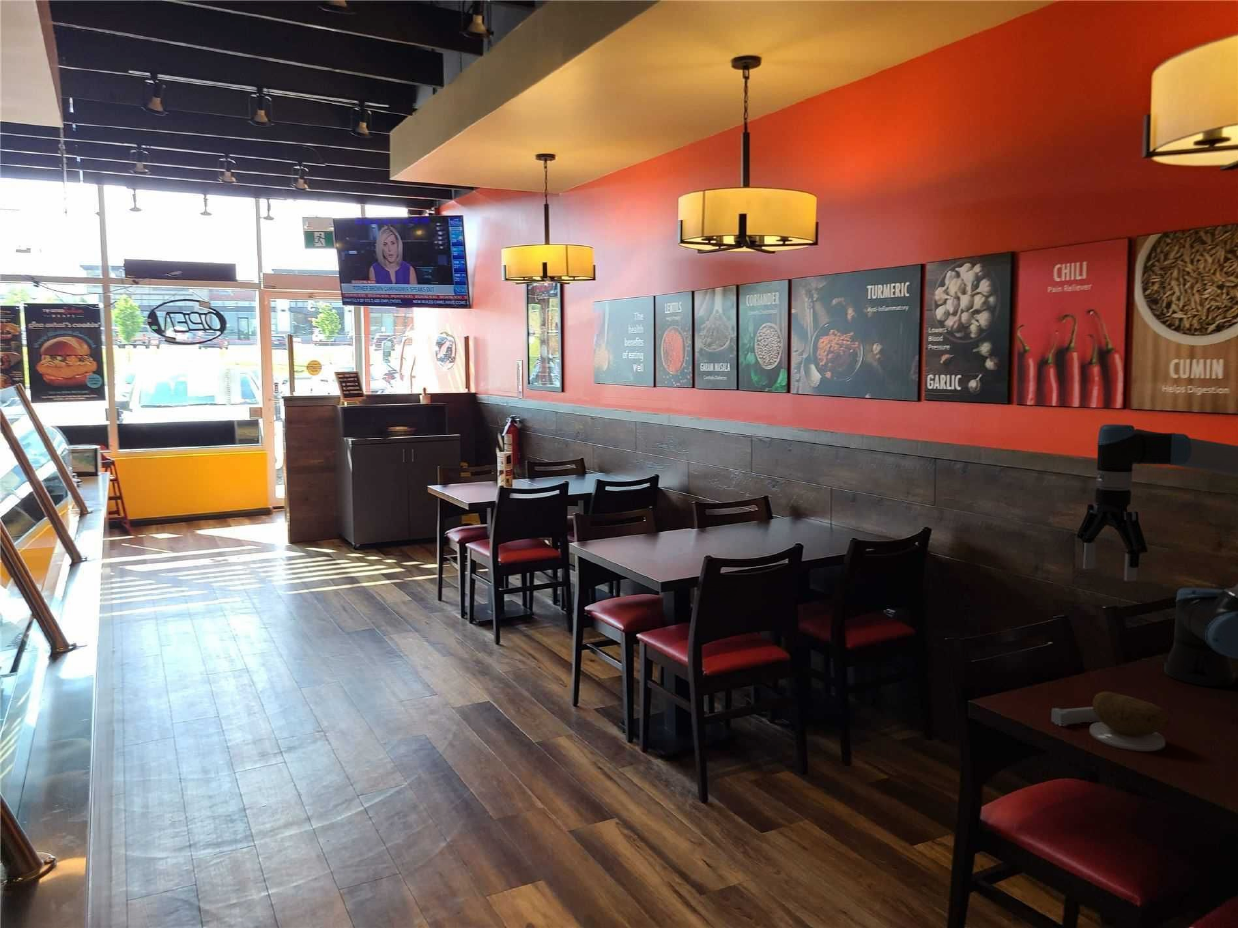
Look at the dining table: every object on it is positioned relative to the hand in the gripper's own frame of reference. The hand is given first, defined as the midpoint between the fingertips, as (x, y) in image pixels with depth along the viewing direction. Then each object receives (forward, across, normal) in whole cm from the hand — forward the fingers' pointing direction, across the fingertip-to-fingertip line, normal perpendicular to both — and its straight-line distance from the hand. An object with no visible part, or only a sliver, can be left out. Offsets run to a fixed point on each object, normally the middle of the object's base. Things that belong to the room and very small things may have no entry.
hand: (1108, 574), depth 214 cm
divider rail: (+29, +18, -15) cm, 37 cm away
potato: (+28, +27, -17) cm, 42 cm away
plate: (+29, +27, -17) cm, 43 cm away
